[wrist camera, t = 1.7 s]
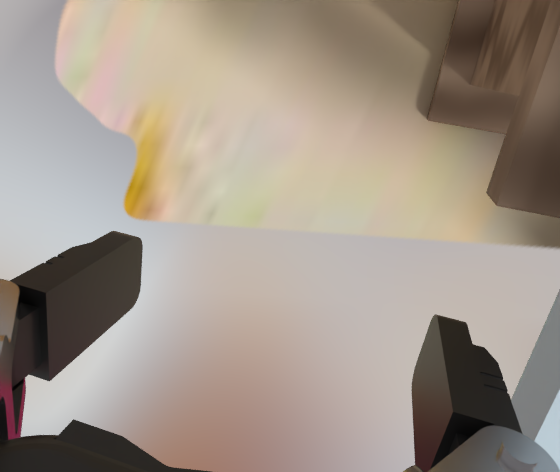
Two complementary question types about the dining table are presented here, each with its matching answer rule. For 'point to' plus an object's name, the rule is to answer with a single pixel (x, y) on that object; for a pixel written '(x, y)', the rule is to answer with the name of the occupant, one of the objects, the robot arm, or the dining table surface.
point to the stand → (508, 94)
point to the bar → (542, 388)
